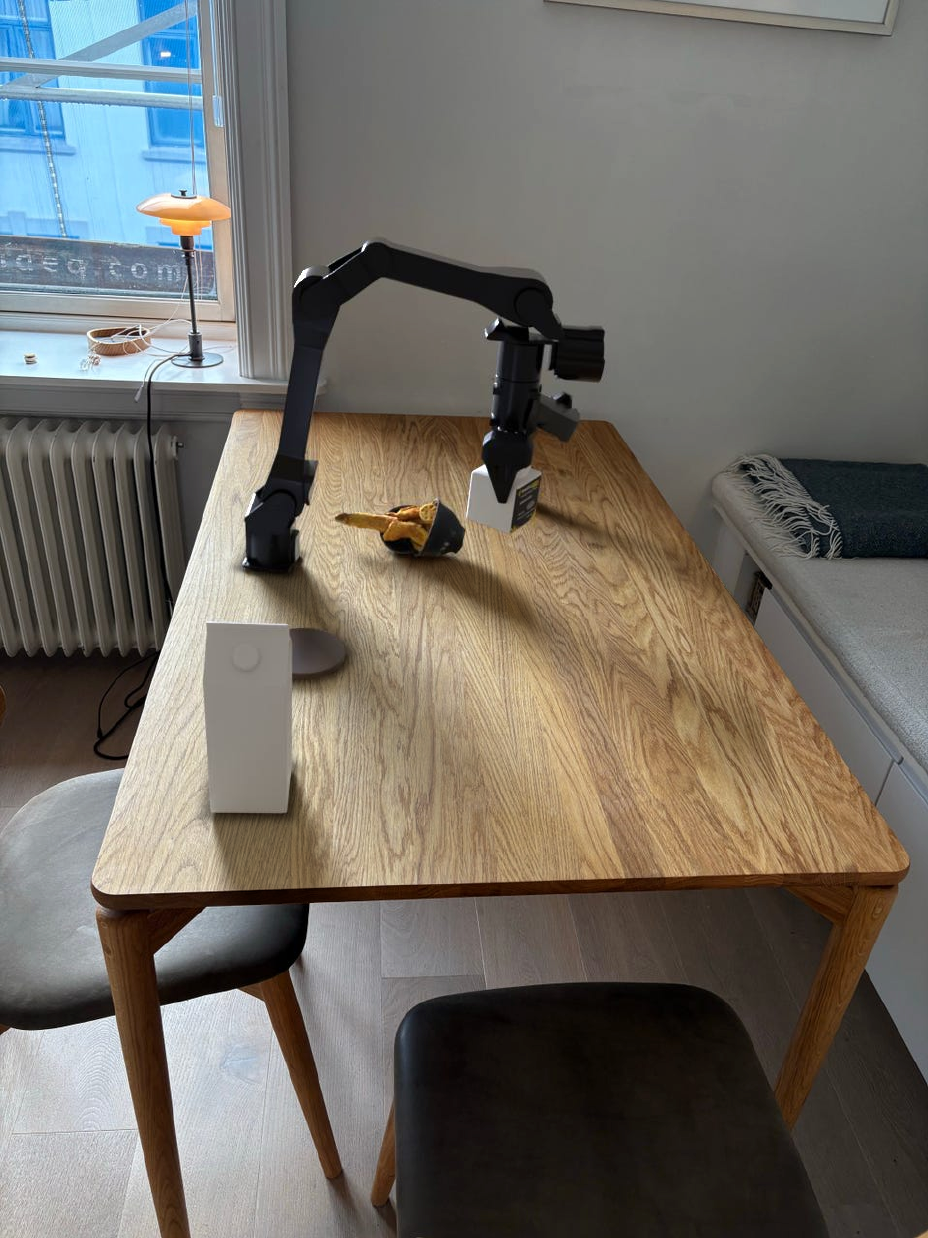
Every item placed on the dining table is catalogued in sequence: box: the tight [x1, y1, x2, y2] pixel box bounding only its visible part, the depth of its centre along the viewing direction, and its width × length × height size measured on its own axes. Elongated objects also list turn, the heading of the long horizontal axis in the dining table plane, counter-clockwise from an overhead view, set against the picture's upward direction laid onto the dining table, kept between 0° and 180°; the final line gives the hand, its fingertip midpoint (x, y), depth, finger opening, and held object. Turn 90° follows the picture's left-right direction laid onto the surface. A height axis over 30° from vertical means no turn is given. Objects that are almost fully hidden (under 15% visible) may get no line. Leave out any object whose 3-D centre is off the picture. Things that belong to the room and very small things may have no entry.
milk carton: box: [202, 620, 293, 814], centre depth 88 cm, size 7×7×19 cm
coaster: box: [289, 627, 346, 680], centre depth 113 cm, size 10×10×1 cm
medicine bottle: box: [466, 431, 542, 535], centre depth 127 cm, size 7×7×12 cm
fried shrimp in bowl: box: [334, 498, 467, 558], centre depth 136 cm, size 9×11×18 cm
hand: (504, 489), depth 128 cm, fingers closed on medicine bottle, 9 cm apart
